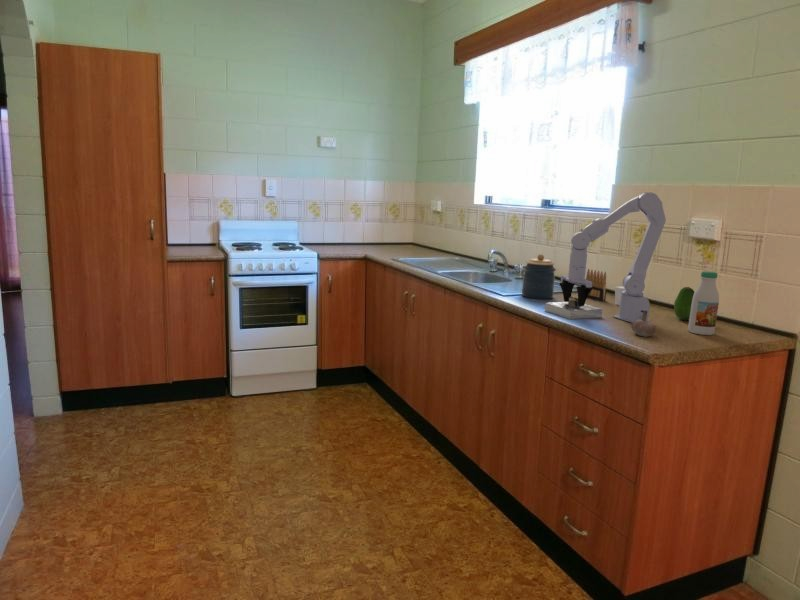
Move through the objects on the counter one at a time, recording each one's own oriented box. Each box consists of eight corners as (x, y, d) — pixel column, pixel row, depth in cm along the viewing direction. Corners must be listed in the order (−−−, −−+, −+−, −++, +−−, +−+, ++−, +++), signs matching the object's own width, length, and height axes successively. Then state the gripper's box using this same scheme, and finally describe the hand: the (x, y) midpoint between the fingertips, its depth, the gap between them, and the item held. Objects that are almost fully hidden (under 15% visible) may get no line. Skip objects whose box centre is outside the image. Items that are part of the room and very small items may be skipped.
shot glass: (633, 306, 230) (635, 289, 229) (614, 305, 232) (616, 288, 230) (629, 303, 237) (632, 286, 236) (612, 302, 238) (614, 285, 237)
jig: (601, 317, 209) (602, 308, 208) (570, 319, 203) (570, 310, 203) (575, 309, 221) (576, 301, 221) (544, 310, 216) (545, 302, 215)
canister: (535, 292, 253) (538, 251, 250) (559, 298, 243) (563, 255, 240) (514, 295, 245) (518, 253, 242) (539, 300, 235) (543, 256, 232)
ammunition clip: (605, 301, 241) (608, 272, 238) (602, 301, 240) (605, 272, 238) (585, 296, 250) (588, 268, 248) (582, 296, 249) (585, 268, 247)
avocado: (667, 318, 211) (672, 285, 209) (680, 316, 216) (684, 284, 213) (688, 323, 205) (693, 289, 202) (701, 321, 209) (706, 288, 207)
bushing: (581, 314, 212) (582, 298, 210) (572, 315, 210) (574, 298, 209) (573, 312, 215) (574, 296, 214) (564, 313, 213) (566, 296, 212)
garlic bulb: (636, 331, 191) (639, 306, 189) (659, 335, 186) (662, 310, 184) (626, 334, 185) (629, 309, 184) (649, 339, 180) (653, 314, 179)
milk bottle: (684, 332, 191) (692, 271, 188) (692, 328, 197) (701, 269, 193) (709, 337, 186) (718, 274, 182) (717, 333, 191) (726, 272, 188)
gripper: (555, 263, 214) (552, 300, 217) (582, 269, 201) (578, 308, 204) (571, 263, 217) (567, 299, 219) (598, 269, 204) (594, 307, 206)
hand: (573, 303), depth 212 cm, fingers open, 7 cm apart
